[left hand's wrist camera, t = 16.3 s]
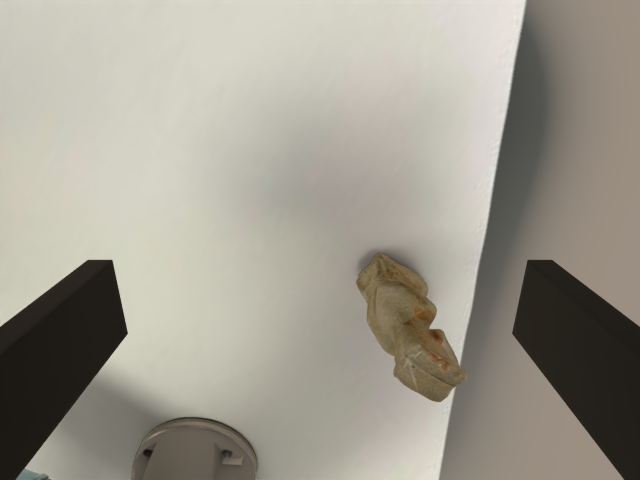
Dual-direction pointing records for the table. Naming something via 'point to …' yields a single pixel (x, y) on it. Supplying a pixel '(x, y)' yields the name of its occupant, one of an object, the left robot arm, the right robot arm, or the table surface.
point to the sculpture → (409, 328)
